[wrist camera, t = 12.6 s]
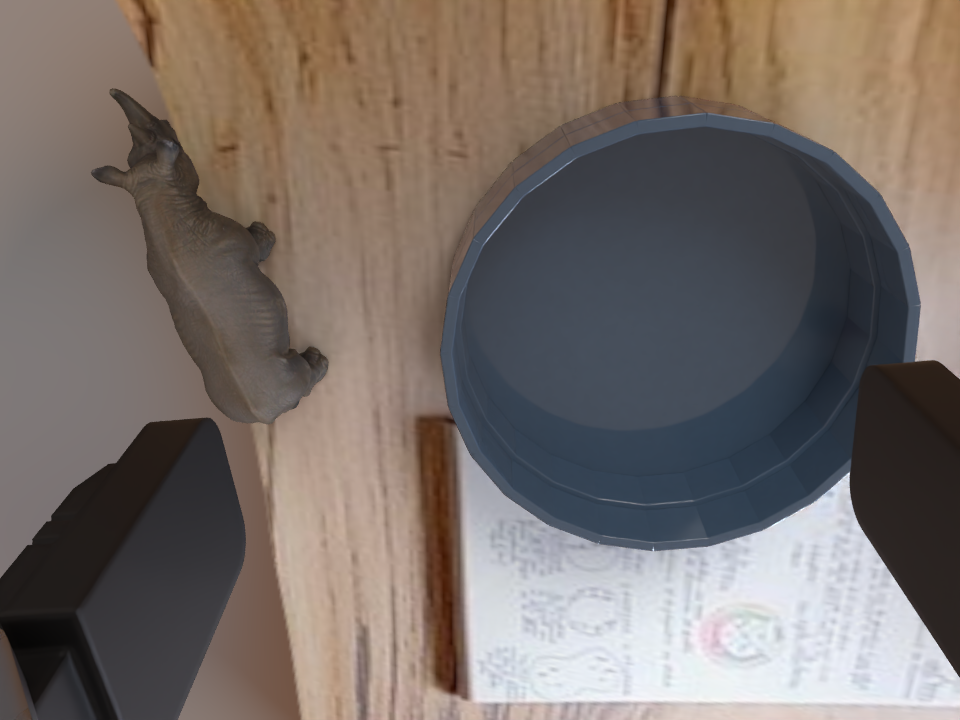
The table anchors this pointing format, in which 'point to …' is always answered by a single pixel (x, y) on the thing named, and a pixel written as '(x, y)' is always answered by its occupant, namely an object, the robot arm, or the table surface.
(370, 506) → the table surface
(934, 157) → the table surface
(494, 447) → the bowl
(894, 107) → the table surface
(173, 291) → the rhino figurine
